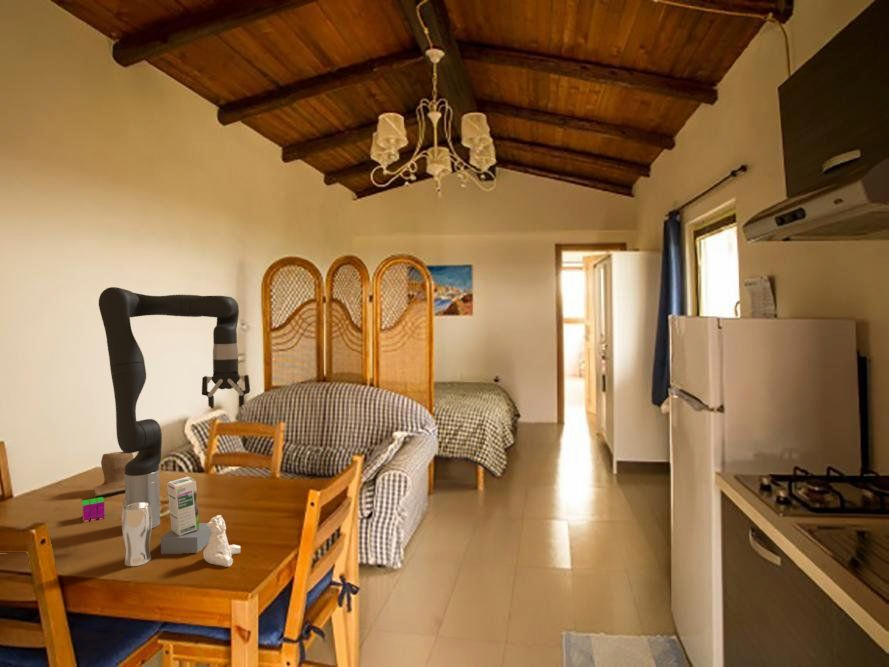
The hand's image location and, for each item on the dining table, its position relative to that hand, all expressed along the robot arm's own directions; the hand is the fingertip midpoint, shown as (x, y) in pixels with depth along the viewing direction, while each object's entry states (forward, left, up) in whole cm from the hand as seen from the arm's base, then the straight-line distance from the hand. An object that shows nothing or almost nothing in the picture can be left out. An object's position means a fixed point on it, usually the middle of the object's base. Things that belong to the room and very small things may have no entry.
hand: (226, 407), depth 166 cm
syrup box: (-9, -19, -32) cm, 38 cm away
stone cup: (-46, +40, -36) cm, 71 cm away
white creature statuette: (+2, -31, -36) cm, 48 cm away
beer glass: (-19, -26, -36) cm, 49 cm away
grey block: (-8, -19, -37) cm, 42 cm away
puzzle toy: (-43, +12, -36) cm, 58 cm away
